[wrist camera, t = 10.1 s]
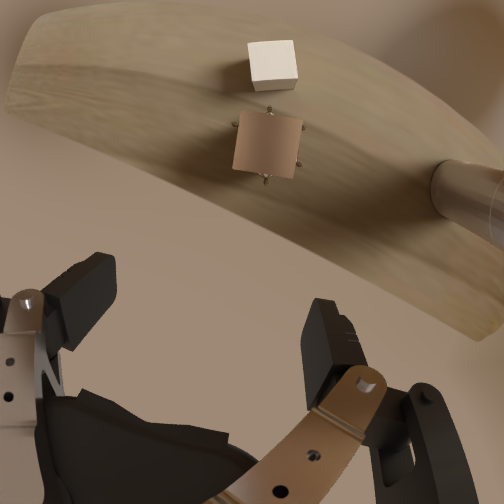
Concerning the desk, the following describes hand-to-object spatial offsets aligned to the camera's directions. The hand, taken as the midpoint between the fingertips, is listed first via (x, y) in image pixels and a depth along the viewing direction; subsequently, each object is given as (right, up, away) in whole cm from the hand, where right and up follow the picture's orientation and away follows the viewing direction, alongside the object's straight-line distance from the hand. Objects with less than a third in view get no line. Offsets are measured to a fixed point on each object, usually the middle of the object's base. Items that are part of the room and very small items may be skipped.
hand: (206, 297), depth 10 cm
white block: (+4, +25, +20) cm, 32 cm away
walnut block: (+3, +13, +16) cm, 21 cm away
